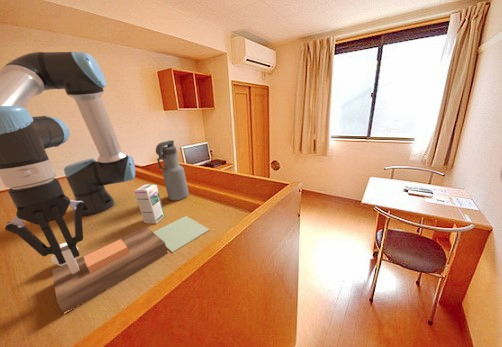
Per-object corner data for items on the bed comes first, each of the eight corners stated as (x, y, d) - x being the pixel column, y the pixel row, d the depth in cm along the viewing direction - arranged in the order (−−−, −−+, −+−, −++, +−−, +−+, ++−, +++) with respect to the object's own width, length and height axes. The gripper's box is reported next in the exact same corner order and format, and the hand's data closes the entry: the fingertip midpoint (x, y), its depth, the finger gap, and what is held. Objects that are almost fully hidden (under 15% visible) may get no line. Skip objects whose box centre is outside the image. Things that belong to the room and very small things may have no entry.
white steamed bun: (75, 254, 63) (67, 236, 61) (86, 258, 61) (78, 239, 59) (51, 268, 58) (41, 249, 56) (62, 273, 56) (52, 253, 53)
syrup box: (156, 223, 77) (147, 189, 72) (143, 223, 78) (133, 189, 73) (165, 216, 82) (157, 183, 77) (153, 215, 83) (144, 183, 78)
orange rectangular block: (85, 262, 53) (83, 256, 53) (122, 244, 59) (120, 238, 59) (90, 273, 49) (87, 267, 49) (129, 252, 55) (127, 247, 55)
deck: (58, 282, 53) (52, 270, 51) (149, 236, 69) (146, 226, 68) (64, 315, 44) (56, 301, 42) (167, 253, 60) (164, 242, 59)
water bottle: (176, 203, 93) (163, 144, 84) (164, 199, 98) (149, 143, 89) (193, 194, 101) (182, 139, 92) (180, 191, 106) (169, 139, 97)
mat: (151, 233, 70) (151, 233, 70) (186, 216, 80) (186, 215, 80) (172, 252, 60) (172, 251, 60) (209, 230, 69) (209, 229, 69)
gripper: (-19, 198, 35) (39, 296, 43) (75, 176, 44) (109, 261, 51) (-13, 189, 40) (38, 278, 47) (70, 171, 49) (102, 249, 56)
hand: (75, 269), depth 49 cm, fingers closed
